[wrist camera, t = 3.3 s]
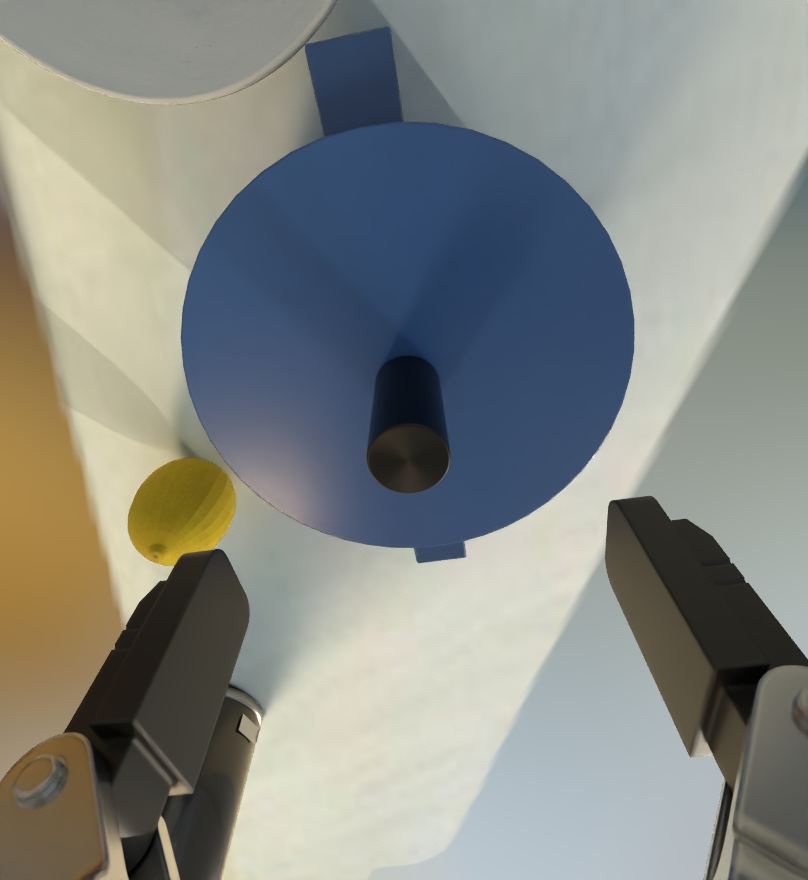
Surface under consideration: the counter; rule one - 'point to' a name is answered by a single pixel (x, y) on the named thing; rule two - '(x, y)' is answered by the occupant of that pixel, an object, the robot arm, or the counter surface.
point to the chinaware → (161, 43)
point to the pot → (362, 122)
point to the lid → (407, 334)
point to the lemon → (181, 510)
